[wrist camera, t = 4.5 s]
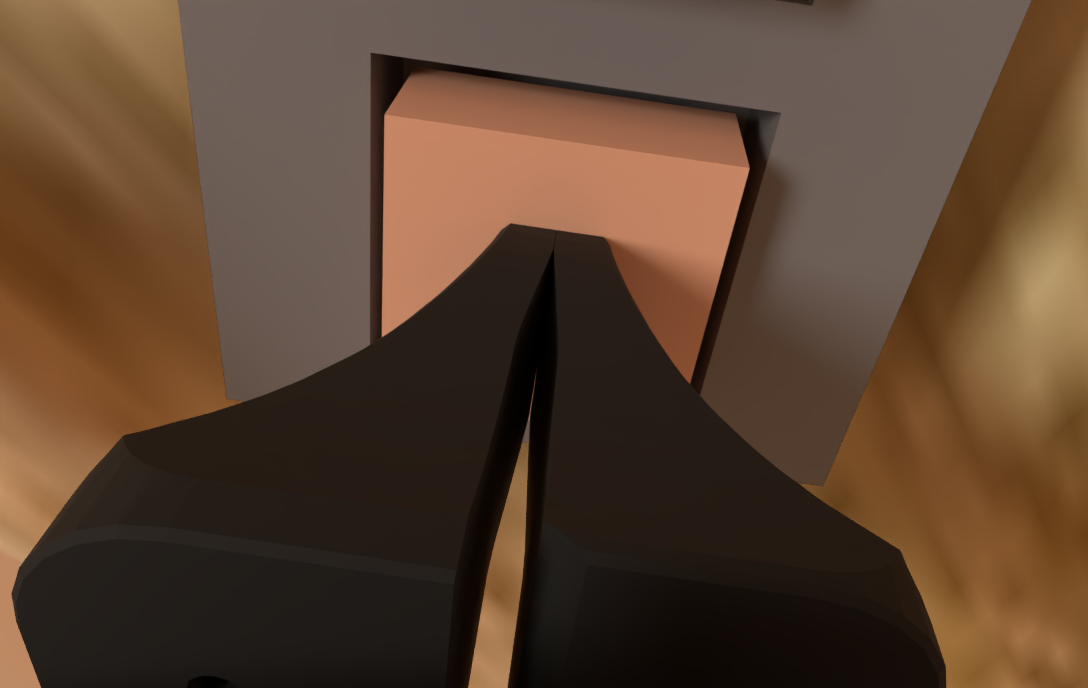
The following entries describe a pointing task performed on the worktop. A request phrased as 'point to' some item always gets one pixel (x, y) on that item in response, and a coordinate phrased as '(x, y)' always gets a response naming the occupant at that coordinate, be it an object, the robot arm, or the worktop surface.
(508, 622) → the worktop surface
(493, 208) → the terracotta key
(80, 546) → the robot arm
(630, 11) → the keypad
